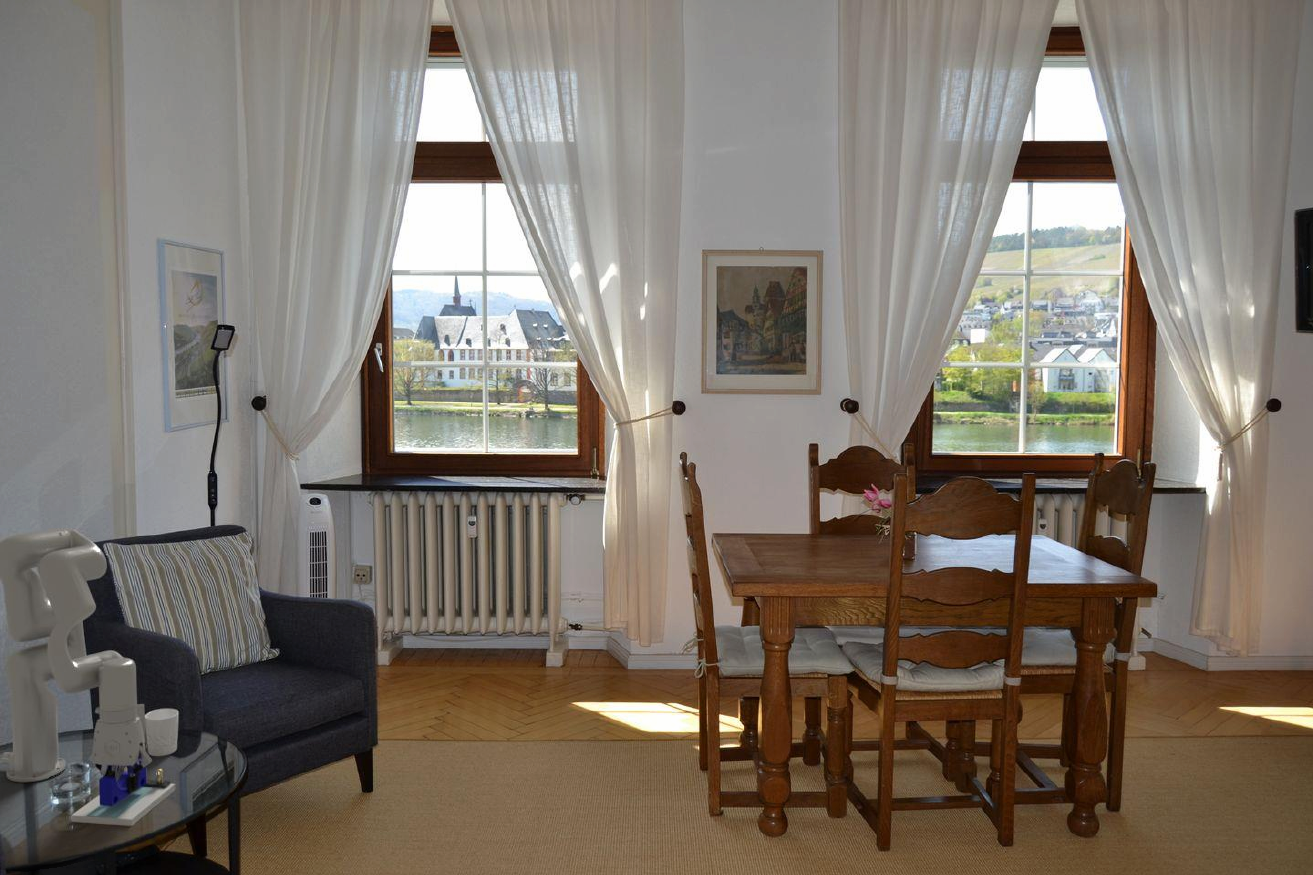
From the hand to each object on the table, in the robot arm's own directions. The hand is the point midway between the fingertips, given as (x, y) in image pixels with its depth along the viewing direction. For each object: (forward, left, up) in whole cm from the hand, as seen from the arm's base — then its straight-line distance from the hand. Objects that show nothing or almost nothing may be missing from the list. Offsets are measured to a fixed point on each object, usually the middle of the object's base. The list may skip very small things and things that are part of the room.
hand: (121, 789), depth 237 cm
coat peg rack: (0, +9, -3) cm, 10 cm away
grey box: (-19, +35, -5) cm, 40 cm away
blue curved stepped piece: (0, 0, -1) cm, 1 cm away
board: (0, +2, -4) cm, 5 cm away
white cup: (-8, +31, -5) cm, 32 cm away
